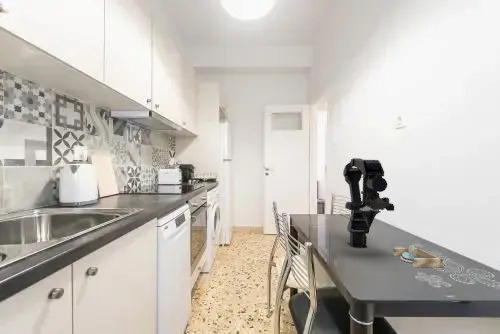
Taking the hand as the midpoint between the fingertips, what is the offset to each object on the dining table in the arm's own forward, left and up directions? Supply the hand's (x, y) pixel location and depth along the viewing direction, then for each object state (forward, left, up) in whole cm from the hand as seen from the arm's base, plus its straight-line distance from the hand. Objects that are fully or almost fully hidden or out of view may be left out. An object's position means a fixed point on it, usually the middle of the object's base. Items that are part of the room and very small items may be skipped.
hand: (368, 226), depth 118 cm
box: (+16, -7, -12) cm, 21 cm away
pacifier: (+14, -6, -12) cm, 19 cm away
